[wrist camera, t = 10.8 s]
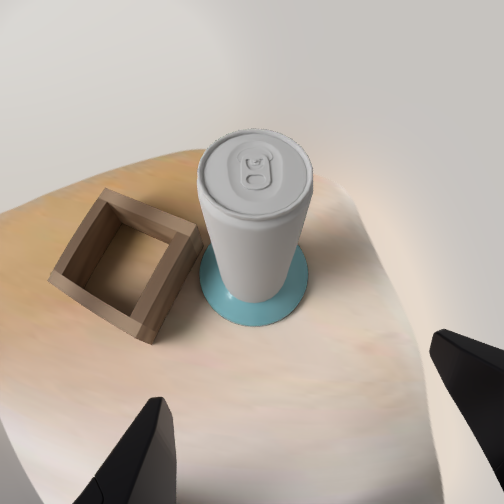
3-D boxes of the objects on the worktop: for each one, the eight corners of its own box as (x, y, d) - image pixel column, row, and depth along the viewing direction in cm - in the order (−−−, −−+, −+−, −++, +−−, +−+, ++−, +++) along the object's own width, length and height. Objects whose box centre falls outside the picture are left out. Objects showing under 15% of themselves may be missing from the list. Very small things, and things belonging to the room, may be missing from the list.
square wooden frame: (203, 245, 24) (196, 224, 21) (151, 344, 21) (135, 338, 18) (119, 210, 26) (105, 187, 22) (69, 294, 22) (47, 280, 19)
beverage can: (284, 242, 24) (307, 126, 13) (289, 304, 22) (325, 220, 11) (221, 244, 24) (198, 128, 13) (220, 306, 22) (189, 223, 11)
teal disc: (320, 249, 24) (322, 246, 24) (282, 344, 21) (283, 343, 21) (228, 212, 25) (228, 209, 25) (182, 299, 23) (180, 297, 22)
